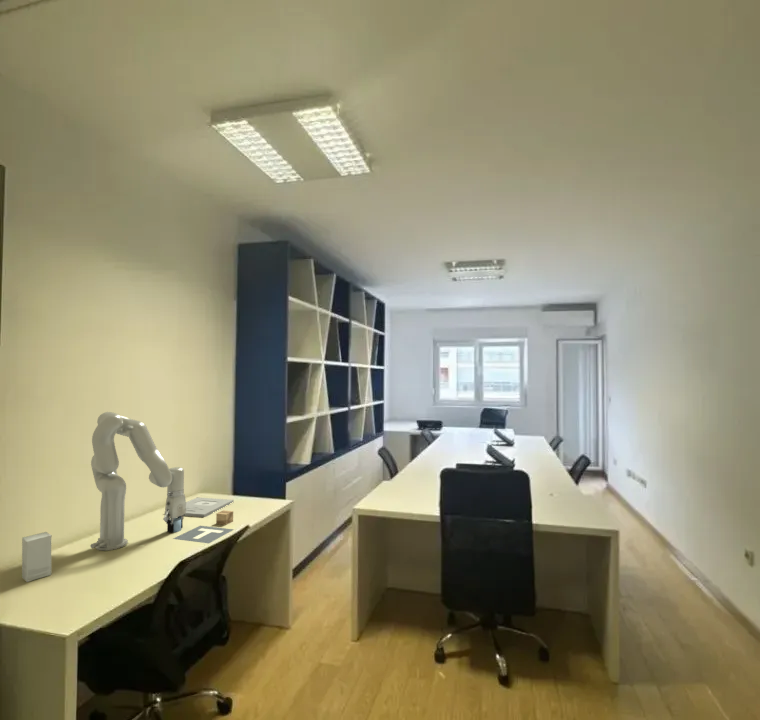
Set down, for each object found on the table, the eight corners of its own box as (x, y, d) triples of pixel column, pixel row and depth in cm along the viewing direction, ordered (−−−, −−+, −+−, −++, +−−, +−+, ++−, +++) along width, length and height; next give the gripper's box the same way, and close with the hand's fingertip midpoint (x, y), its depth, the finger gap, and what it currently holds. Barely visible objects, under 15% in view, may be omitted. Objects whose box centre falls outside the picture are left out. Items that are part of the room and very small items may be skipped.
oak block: (226, 526, 241) (226, 514, 242) (216, 525, 243) (216, 513, 243) (233, 522, 247) (233, 511, 247) (223, 521, 249) (223, 510, 249)
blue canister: (175, 534, 229) (175, 521, 229) (166, 533, 231) (166, 520, 231) (183, 530, 235) (183, 518, 235) (174, 529, 236) (174, 517, 236)
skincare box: (46, 570, 187) (47, 531, 187) (52, 575, 183) (52, 534, 183) (20, 577, 180) (21, 536, 181) (25, 582, 176) (26, 540, 176)
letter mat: (208, 544, 215) (208, 543, 215) (172, 540, 221) (172, 538, 221) (234, 530, 235) (234, 529, 235) (200, 526, 240) (200, 525, 240)
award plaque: (164, 515, 261) (164, 511, 261) (197, 500, 290) (197, 497, 290) (204, 518, 255) (204, 514, 256) (233, 503, 285) (233, 499, 285)
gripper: (169, 498, 224) (168, 536, 223) (193, 489, 240) (193, 525, 240) (156, 496, 226) (155, 534, 226) (181, 488, 242) (180, 523, 242)
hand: (175, 529), depth 233 cm, fingers closed on blue canister, 5 cm apart
